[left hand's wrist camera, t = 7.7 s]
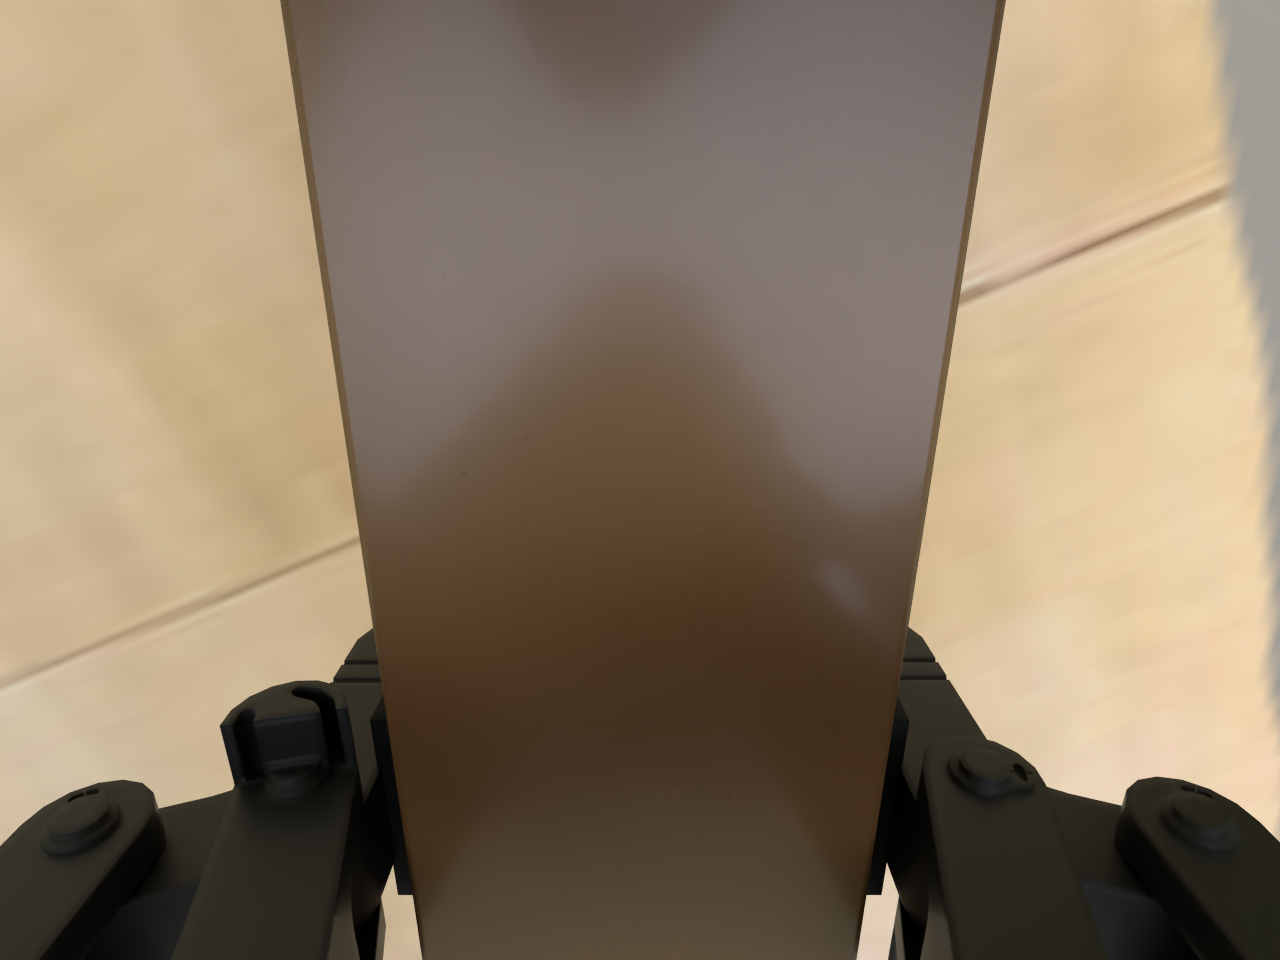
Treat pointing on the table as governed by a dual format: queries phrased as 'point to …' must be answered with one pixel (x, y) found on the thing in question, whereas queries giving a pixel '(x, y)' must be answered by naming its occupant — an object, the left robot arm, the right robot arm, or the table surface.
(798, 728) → the bar
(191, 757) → the table surface
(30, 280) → the table surface
